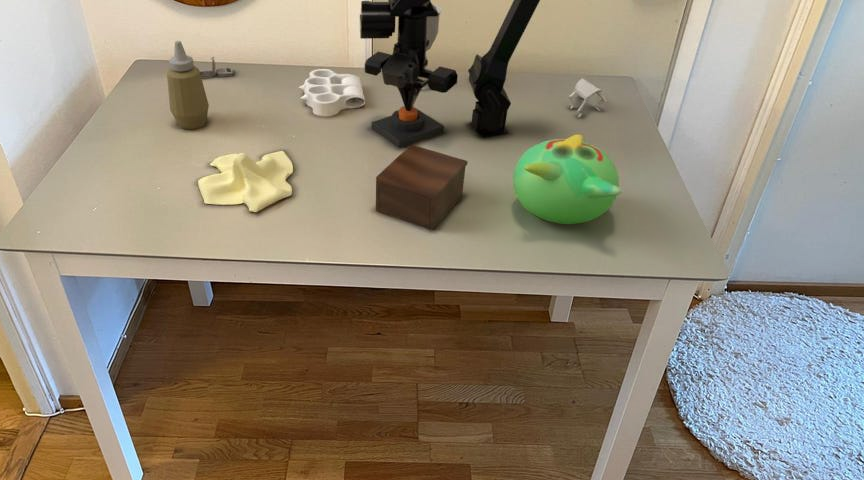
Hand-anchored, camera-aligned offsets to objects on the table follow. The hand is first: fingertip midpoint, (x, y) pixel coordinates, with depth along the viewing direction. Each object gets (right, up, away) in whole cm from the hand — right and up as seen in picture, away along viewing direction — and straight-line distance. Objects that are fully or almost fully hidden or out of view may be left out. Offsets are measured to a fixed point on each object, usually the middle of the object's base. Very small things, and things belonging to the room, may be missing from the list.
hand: (408, 110), depth 144 cm
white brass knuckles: (-17, +6, +14) cm, 23 cm away
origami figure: (+41, +4, +14) cm, 43 cm away
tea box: (+1, -21, -18) cm, 28 cm away
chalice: (+4, +11, +21) cm, 24 cm away
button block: (0, -4, +3) cm, 5 cm away
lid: (+2, -16, -22) cm, 27 cm away
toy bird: (+26, -24, -20) cm, 41 cm away
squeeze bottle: (-47, -2, +4) cm, 47 cm away
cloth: (-31, -16, -13) cm, 37 cm away
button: (0, -1, +1) cm, 2 cm away
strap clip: (-46, +14, +23) cm, 54 cm away
